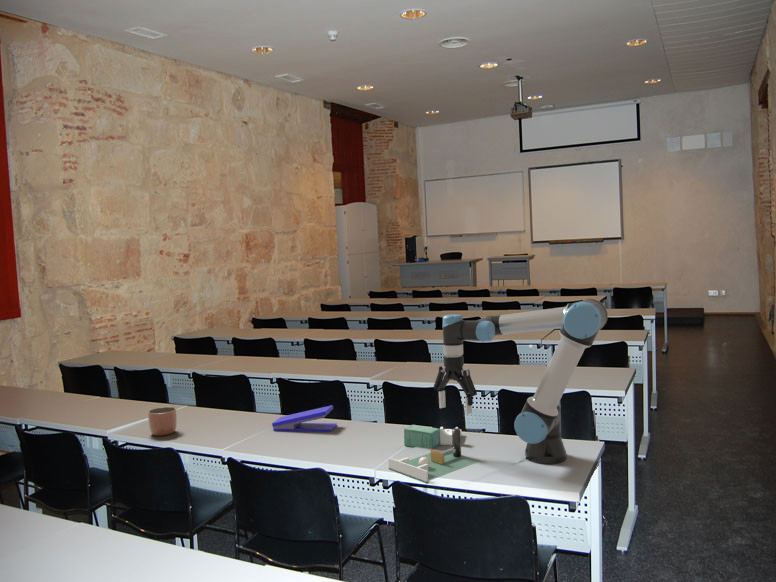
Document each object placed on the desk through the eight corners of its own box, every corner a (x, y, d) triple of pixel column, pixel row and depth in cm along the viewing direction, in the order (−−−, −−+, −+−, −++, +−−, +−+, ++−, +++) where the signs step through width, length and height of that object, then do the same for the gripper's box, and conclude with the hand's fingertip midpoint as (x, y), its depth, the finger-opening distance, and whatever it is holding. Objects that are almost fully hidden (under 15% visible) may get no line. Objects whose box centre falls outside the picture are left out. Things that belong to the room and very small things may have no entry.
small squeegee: (465, 455, 239) (464, 430, 238) (442, 464, 230) (441, 437, 230) (454, 452, 243) (453, 427, 242) (430, 460, 235) (429, 434, 234)
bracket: (457, 447, 253) (457, 429, 253) (440, 446, 255) (439, 428, 254) (461, 437, 266) (461, 420, 265) (445, 437, 267) (444, 419, 267)
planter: (181, 433, 288) (179, 410, 288) (153, 439, 281) (151, 415, 281) (173, 427, 299) (172, 405, 298) (146, 433, 292) (144, 409, 291)
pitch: (480, 462, 234) (480, 451, 233) (426, 483, 215) (426, 471, 215) (442, 451, 249) (441, 440, 248) (388, 469, 231) (388, 458, 230)
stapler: (330, 432, 281) (329, 411, 280) (271, 431, 286) (270, 410, 286) (337, 425, 292) (336, 404, 292) (280, 424, 297) (279, 404, 297)
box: (433, 451, 250) (432, 432, 249) (404, 446, 257) (403, 428, 256) (441, 445, 256) (441, 427, 255) (413, 441, 263) (412, 424, 263)
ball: (432, 467, 228) (431, 457, 228) (424, 470, 226) (423, 459, 225) (424, 465, 231) (423, 454, 231) (416, 468, 229) (416, 457, 228)
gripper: (485, 357, 230) (487, 414, 232) (437, 350, 249) (438, 403, 251) (471, 360, 225) (473, 418, 227) (423, 353, 244) (425, 407, 246)
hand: (455, 410), depth 239 cm, fingers open, 13 cm apart
